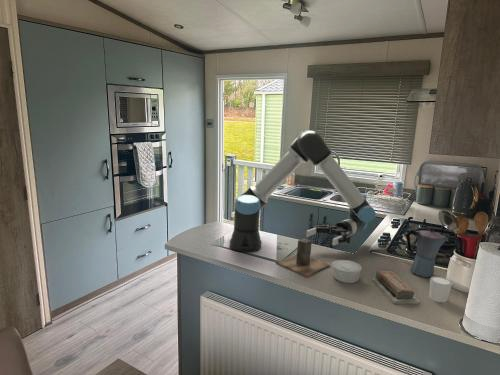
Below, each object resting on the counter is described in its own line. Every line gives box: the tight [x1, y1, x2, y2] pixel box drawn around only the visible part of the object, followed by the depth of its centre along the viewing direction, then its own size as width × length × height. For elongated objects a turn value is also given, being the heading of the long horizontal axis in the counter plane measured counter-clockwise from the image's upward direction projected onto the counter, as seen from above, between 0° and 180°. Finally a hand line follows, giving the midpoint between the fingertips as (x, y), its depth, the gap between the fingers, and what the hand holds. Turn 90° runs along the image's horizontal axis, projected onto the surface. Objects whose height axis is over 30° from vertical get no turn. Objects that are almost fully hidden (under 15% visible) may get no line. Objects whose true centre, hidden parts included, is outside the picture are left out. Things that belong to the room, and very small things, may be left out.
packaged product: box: [370, 270, 421, 305], centre depth 127 cm, size 18×5×10 cm
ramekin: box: [331, 259, 363, 284], centre depth 135 cm, size 11×11×5 cm
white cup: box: [428, 276, 453, 303], centre depth 122 cm, size 7×7×7 cm
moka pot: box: [405, 227, 449, 279], centre depth 141 cm, size 10×15×20 cm, turn 78°
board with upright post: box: [275, 238, 331, 278], centre depth 144 cm, size 16×16×11 cm
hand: (319, 237), depth 150 cm, fingers open, 13 cm apart
